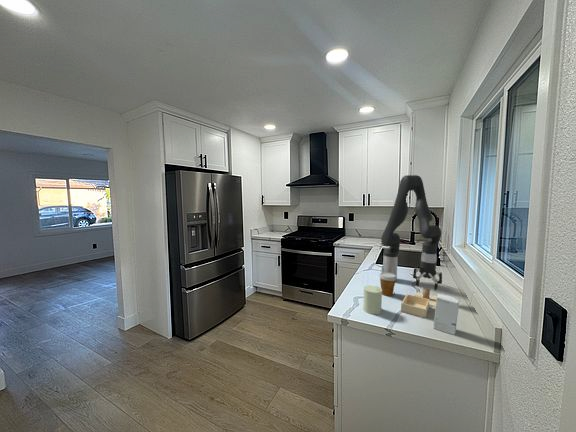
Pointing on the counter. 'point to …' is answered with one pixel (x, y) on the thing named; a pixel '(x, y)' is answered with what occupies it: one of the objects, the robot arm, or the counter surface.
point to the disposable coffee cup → (387, 283)
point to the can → (372, 299)
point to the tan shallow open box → (415, 305)
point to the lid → (428, 296)
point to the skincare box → (446, 313)
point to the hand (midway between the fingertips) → (426, 287)
